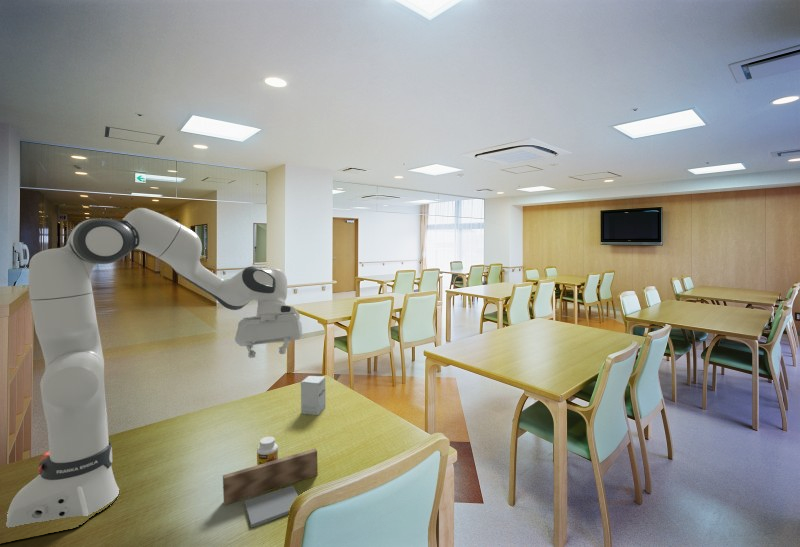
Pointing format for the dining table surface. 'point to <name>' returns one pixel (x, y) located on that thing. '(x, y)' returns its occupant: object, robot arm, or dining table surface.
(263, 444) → the supplement bottle
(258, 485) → the walnut screen
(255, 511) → the grey mat
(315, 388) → the supplement box
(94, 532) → the dining table surface
